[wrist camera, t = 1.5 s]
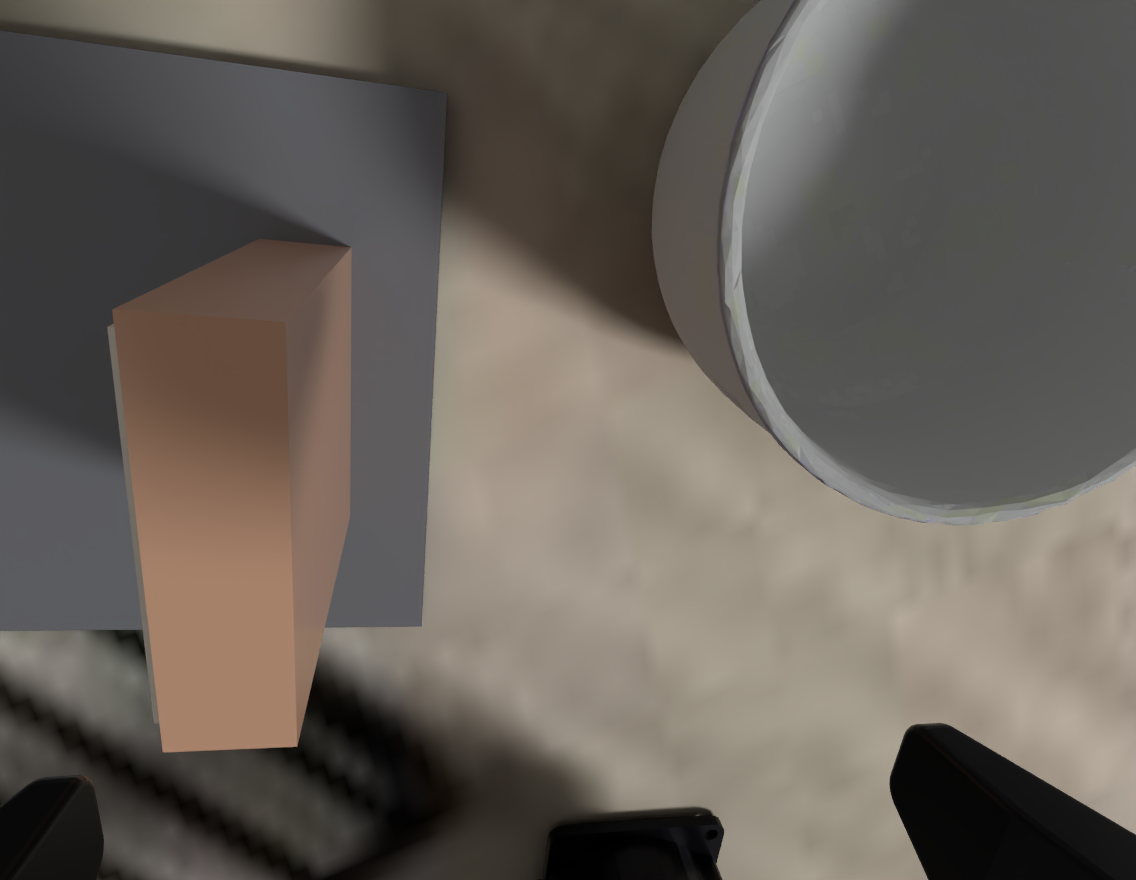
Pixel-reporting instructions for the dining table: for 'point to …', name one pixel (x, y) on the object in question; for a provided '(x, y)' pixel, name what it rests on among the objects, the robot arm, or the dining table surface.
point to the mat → (176, 247)
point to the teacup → (916, 245)
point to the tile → (237, 484)
